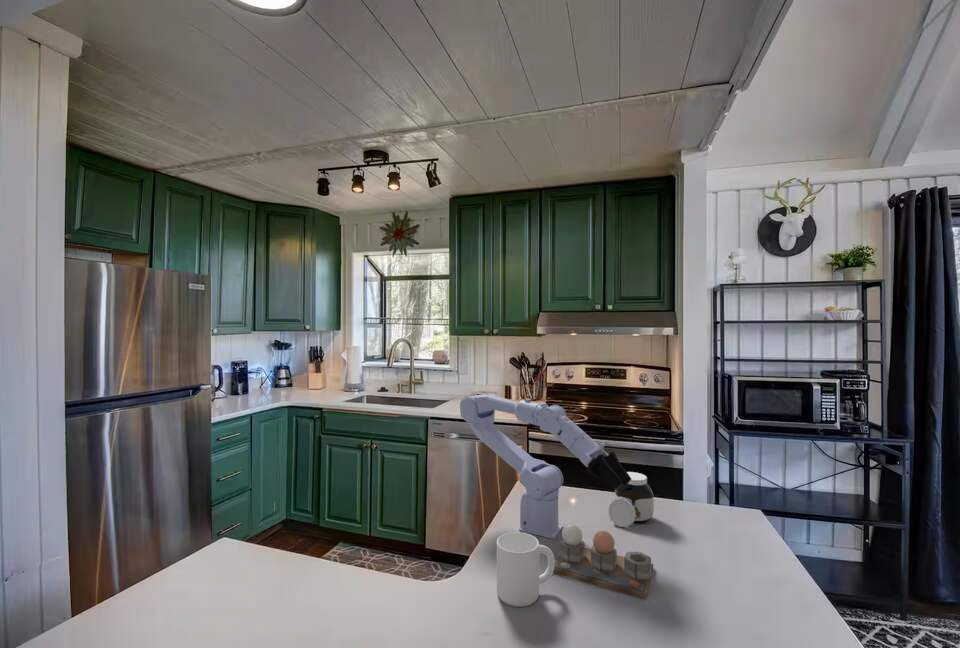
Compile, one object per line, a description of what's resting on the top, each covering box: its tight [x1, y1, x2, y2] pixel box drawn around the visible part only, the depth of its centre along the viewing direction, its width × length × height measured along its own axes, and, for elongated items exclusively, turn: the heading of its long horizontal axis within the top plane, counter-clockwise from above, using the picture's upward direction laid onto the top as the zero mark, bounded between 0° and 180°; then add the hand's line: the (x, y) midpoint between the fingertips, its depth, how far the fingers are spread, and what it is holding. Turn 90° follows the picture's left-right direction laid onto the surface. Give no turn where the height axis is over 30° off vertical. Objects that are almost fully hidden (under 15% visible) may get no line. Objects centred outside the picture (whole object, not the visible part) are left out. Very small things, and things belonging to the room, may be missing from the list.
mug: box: [496, 531, 556, 608], centre depth 84 cm, size 12×8×10 cm
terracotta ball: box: [592, 530, 616, 554], centre depth 93 cm, size 4×4×4 cm
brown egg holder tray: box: [552, 538, 654, 600], centre depth 92 cm, size 19×12×4 cm, turn 62°
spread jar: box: [608, 471, 655, 528], centre depth 116 cm, size 12×11×12 cm
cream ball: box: [561, 523, 583, 546], centre depth 96 cm, size 4×4×4 cm
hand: (624, 483), depth 97 cm, fingers open, 7 cm apart
